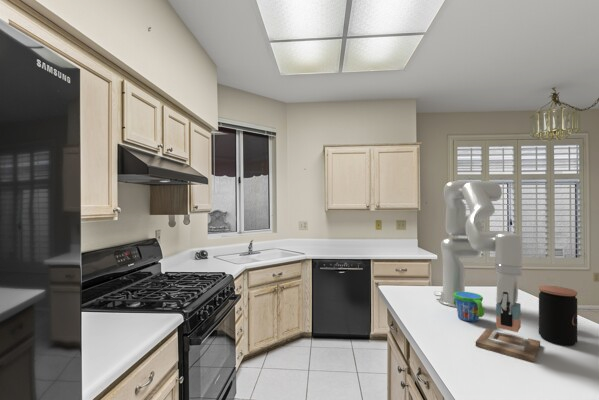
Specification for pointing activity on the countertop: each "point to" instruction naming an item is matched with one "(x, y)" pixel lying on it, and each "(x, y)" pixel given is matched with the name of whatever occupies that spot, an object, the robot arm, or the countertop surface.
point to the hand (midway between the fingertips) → (508, 322)
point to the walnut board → (509, 344)
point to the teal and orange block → (515, 317)
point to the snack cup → (468, 306)
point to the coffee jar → (558, 315)
